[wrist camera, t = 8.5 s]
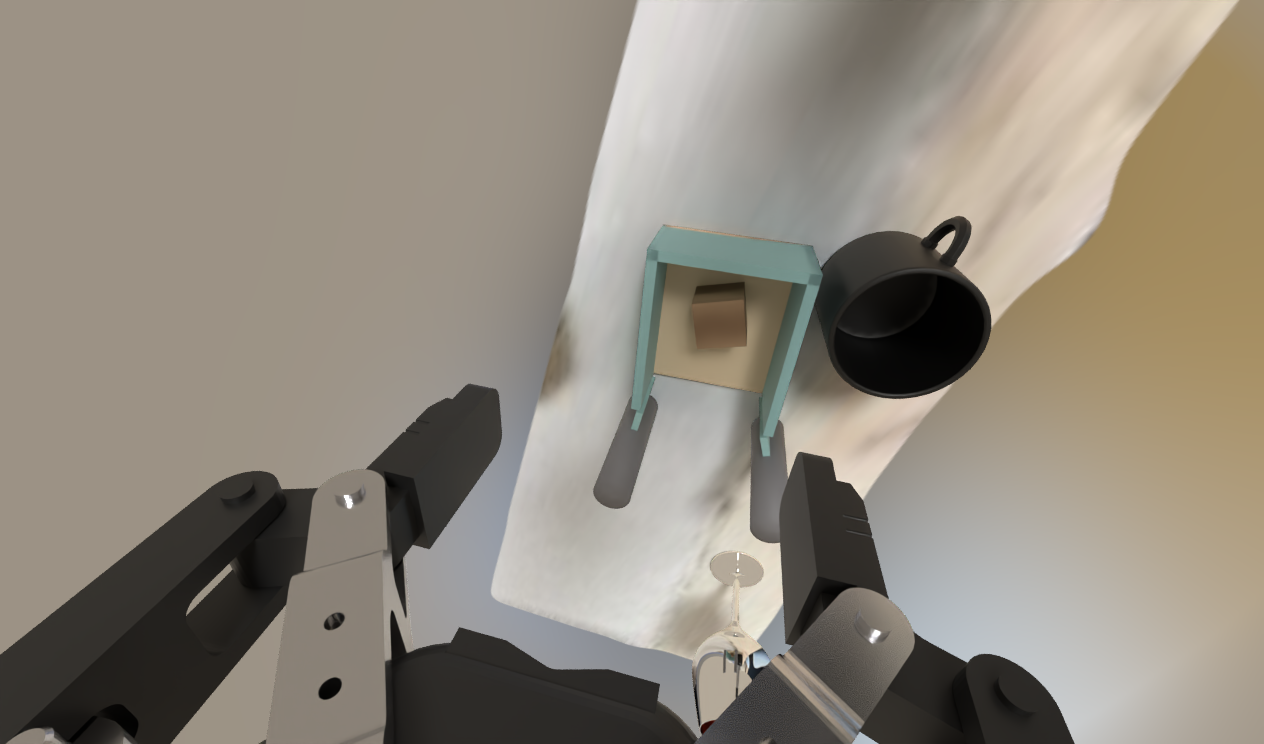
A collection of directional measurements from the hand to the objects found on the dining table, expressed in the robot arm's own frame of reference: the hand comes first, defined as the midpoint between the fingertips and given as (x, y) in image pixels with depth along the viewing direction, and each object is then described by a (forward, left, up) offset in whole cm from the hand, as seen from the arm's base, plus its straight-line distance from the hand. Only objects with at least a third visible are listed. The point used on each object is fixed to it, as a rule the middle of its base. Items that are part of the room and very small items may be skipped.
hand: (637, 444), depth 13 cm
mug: (+3, +14, -30) cm, 34 cm away
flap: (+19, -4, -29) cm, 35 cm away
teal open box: (+9, +2, -30) cm, 31 cm away
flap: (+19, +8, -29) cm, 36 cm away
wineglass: (+42, +10, -30) cm, 53 cm away
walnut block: (+8, +2, -29) cm, 30 cm away
